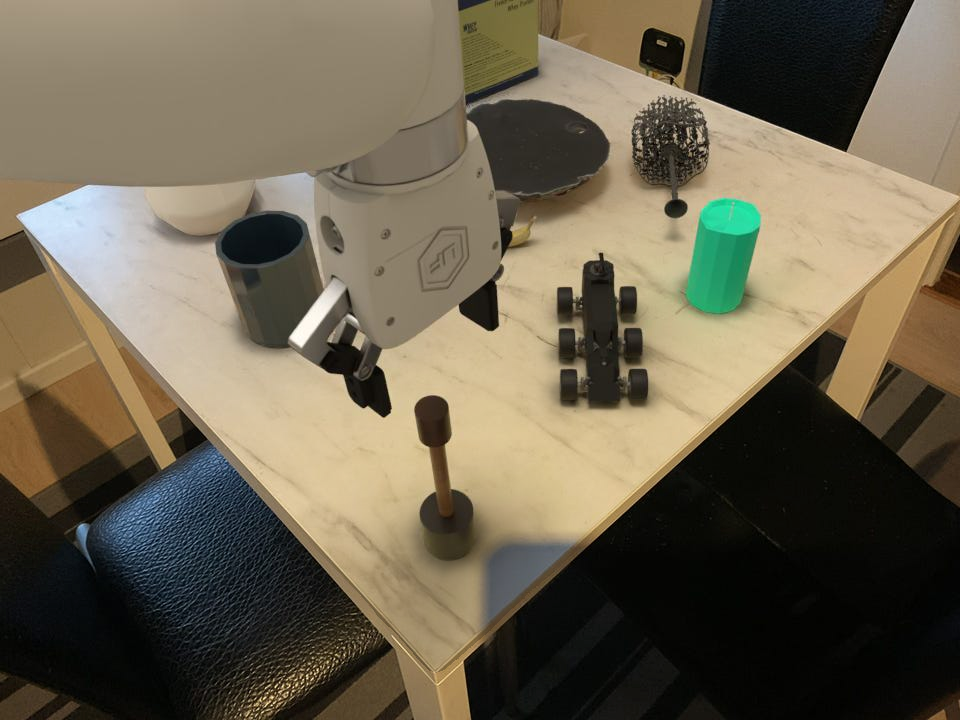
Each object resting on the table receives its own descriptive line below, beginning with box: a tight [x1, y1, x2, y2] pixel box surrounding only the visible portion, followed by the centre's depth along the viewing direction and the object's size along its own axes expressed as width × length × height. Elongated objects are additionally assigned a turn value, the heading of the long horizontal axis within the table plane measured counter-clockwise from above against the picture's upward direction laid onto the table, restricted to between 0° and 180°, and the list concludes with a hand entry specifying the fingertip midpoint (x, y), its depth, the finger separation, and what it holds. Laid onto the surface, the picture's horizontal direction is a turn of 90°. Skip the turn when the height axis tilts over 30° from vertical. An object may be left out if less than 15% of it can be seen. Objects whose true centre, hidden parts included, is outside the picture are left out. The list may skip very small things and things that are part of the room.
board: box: [466, 98, 611, 203], centre depth 102 cm, size 22×22×5 cm
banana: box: [508, 213, 537, 248], centre depth 93 cm, size 8×2×4 cm, turn 94°
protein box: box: [458, 0, 540, 105], centre depth 117 cm, size 10×16×16 cm
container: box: [214, 210, 325, 349], centre depth 83 cm, size 9×9×11 cm
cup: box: [142, 180, 256, 237], centre depth 96 cm, size 13×13×14 cm
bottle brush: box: [413, 394, 477, 561], centre depth 61 cm, size 4×4×17 cm
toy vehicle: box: [556, 252, 649, 403], centre depth 78 cm, size 8×15×9 cm, turn 178°
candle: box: [685, 197, 762, 315], centre depth 82 cm, size 6×6×12 cm
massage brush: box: [630, 94, 711, 219], centre depth 97 cm, size 9×22×9 cm, turn 174°
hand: (428, 360), depth 52 cm, fingers open, 9 cm apart
